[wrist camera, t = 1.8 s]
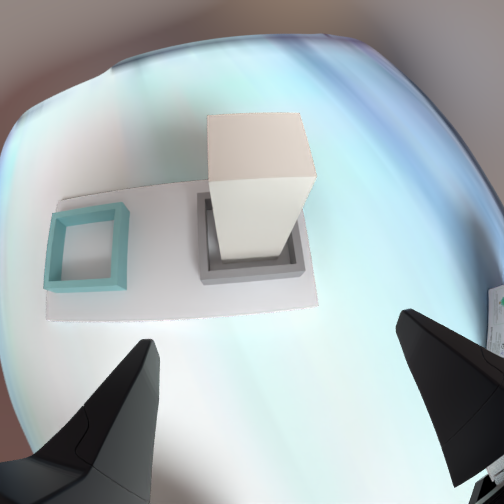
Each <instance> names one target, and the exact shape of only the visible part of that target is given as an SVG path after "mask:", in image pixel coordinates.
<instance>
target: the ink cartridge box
mask: <svg viewBox="0 0 504 504" xmlns="http://www.w3.org/2000/svg"><path fill="white" fill-rule="evenodd" d="M488 295H489V314H488V337H487V350H489V351H491V352H492V353H494V354H496V355H498V356H500V357H502V358H504V285H501V286H498V287H495V288H491V289H489V291H488Z"/></svg>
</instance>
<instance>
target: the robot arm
mask: <svg viewBox="0 0 504 504" xmlns="http://www.w3.org/2000/svg"><path fill="white" fill-rule="evenodd" d="M396 333H397V336H398V339H399V341H400V344H401V347H402V350H403V353H404V356H405V359H406V361H407V364H408V366H409V369H410V371H411V373H412V375H413V377H414V380H415V382H416V384H417V386H418V389H419V391H420V393H421V396H422V398H423V401H424V403H425V405H426V408H427V410H428V413H429V415H430V418H431V421H432V423H433V426H434V428H435V431H436V434H437V436H438V439H439V442H440V445H441V447H442V451H443V454H444V457H445V460H446V463H447V466H448V469H449V473H450V476H451V479H452V483H453V486H454V488H455V487H457V486H459V485H461V484H462V483H464V482H465V481H467V480H469V479H470V478H472V477H473V476H475V475H476V474H478V473H479V472H481V471H482V470H484V469H485V468H486V470H487V472H488V474H486V475H485V476H484V477H482V478H481V479H480V480H479V481H477V482H476V483H475V486H474V489H473V492H472V495H471V498H470V501H469V504H504V358H502V357H500V356H498V355H496V354H494V353H492V352H491V351H489V350H487V349H485V348H483V347H482V346H479V345H478V344H476V343H474V342H472V341H471V340H469V339H467V338H465V337H463V336H462V335H460V334H458V333H456V332H454V331H452V330H450V329H449V328H447V327H445V326H443V325H441V324H439V323H437V322H436V321H434V320H432V319H430V318H428V317H426V316H424V315H423V314H421V313H419V312H417V311H415V310H413V309H406V310H402V311H401V313H400V316H399V319H398V322H397V324H396ZM159 374H160V357H159V354H158V351H157V348H156V346H155V343H154V341H153V340H152V339H142V340H140V341H139V342H138V343H137V344H136V346H135V347H134V348H133V349H132V350H131V351H130V352H129V353H128V355H127V356H126V357H125V358H124V359H123V360H122V361H121V362H120V364H119V365H118V366H117V367H116V368H115V369H114V370H113V371H112V373H111V374H110V375H109V376H108V377H107V378H106V379H105V381H104V382H103V383H102V384H101V385H100V386H99V387H98V389H97V390H96V391H95V392H94V393H93V394H92V395H91V397H90V398H89V399H88V400H87V401H86V402H85V404H84V406H82V407H81V408H80V409H79V410H78V412H77V413H76V414H75V415H74V416H73V417H72V418H71V419H70V421H69V422H68V423H67V424H66V425H65V426H64V427H63V428H62V429H61V430H60V431H59V432H58V433H57V434H55V435H54V436H53V437H52V438H51V439H50V440H49V441H48V442H47V443H46V444H45V445H44V446H43V447H42V448H41V449H40V450H38V451H37V452H36V453H35V454H33V455H32V456H29V457H27V458H24V459H19V460H13V461H7V462H1V463H0V504H150V503H149V502H150V488H151V473H152V460H153V449H154V439H155V429H156V420H157V412H158V404H159Z"/></svg>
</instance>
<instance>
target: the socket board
mask: <svg viewBox="0 0 504 504" xmlns="http://www.w3.org/2000/svg"><path fill="white" fill-rule="evenodd" d="M43 289H46V290H47V296H46V320H47V321H56V322H146V321H172V320H190V319H206V318H220V317H233V316H244V315H255V314H265V313H274V312H283V311H292V310H300V309H308V308H315V307H318V306H319V305H318V298H317V291H316V284H315V278H314V271H313V265H312V259H311V253H310V247H309V241H308V235H307V230H306V224H305V219H304V213H303V208H302V210H301V212H300V214H299V216H298V218H297V220H296V223H295V225H294V227H293V229H292V231H291V233H290V235H289V237H288V239H287V241H286V243H285V245H284V247H283V249H282V251H281V253H280V256H279V258H278V259H276V260H264V261H252V262H240V263H228V264H222V259H221V254H220V248H219V242H218V237H217V231H216V225H215V219H214V213H213V207H212V201H211V194H210V188H209V181H208V179H207V180H196V181H186V182H176V183H167V184H159V185H151V186H143V187H136V188H129V189H122V190H116V191H109V192H103V193H97V194H92V195H86V196H81V197H75V198H70V199H65V200H60V201H58V204H57V209H56V213H52V219H51V224H50V231H49V237H48V244H47V252H46V262H45V273H44V287H43Z"/></svg>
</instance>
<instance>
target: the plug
mask: <svg viewBox="0 0 504 504" xmlns="http://www.w3.org/2000/svg"><path fill="white" fill-rule="evenodd" d="M207 140H208V181H209V188H210V194H211V201H212V207H213V213H214V219H215V225H216V231H217V237H218V242H219V248H220V254H221V259H222V264H228V263H240V262H252V261H264V260H276V259H278V258H279V256H280V253H281V251H282V249H283V247H284V245H285V243H286V241H287V239H288V237H289V235H290V233H291V231H292V229H293V227H294V225H295V223H296V220H297V218H298V216H299V214H300V212H301V210H302V208H303V206H304V204H305V202H306V199H307V197H308V195H309V193H310V191H311V189H312V187H313V185H314V182H315V180H316V178H317V174H316V170H315V166H314V162H313V158H312V155H311V151H310V147H309V144H308V140H307V137H306V133H305V130H304V126H303V123H302V119H301V116H300V113H238V114H221V115H208V116H207Z"/></svg>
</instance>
